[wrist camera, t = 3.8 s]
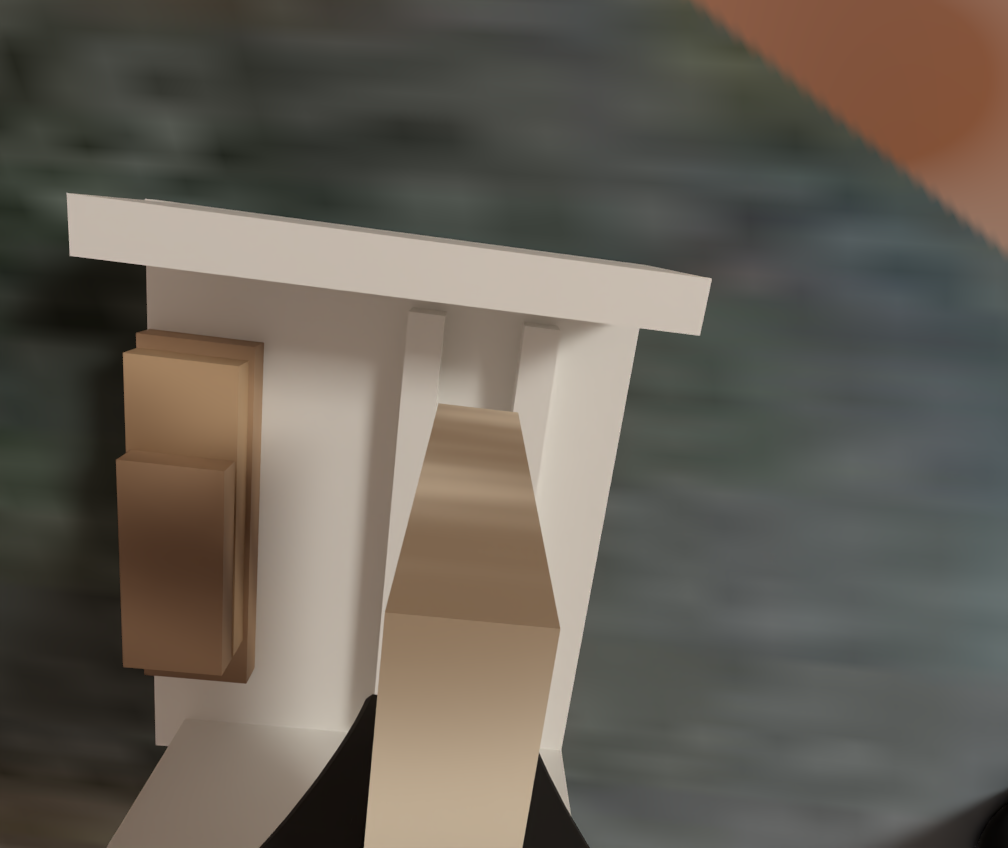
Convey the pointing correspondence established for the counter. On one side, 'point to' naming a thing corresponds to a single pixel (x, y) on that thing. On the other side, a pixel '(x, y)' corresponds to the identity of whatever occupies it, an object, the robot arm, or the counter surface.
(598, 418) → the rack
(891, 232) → the counter surface
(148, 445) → the offcut stack
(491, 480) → the tall sheet
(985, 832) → the supplement bottle
